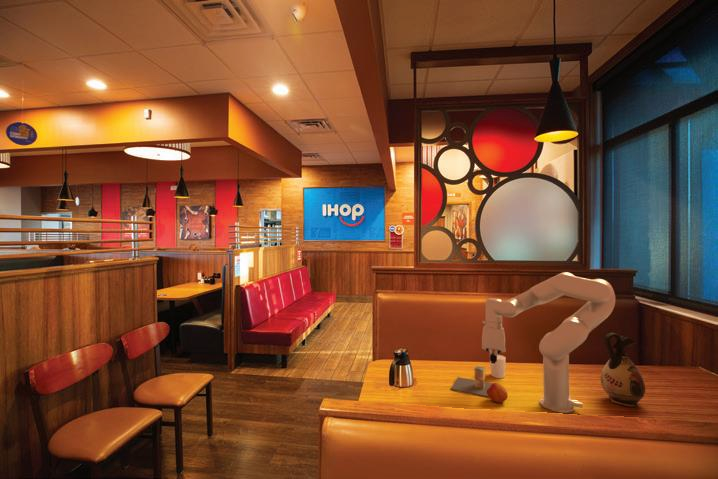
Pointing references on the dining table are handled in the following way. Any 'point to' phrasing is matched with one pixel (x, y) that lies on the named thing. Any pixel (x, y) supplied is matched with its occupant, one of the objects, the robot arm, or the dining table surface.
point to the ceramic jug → (621, 374)
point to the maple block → (479, 377)
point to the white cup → (498, 367)
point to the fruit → (497, 393)
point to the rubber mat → (470, 387)
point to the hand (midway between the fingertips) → (493, 362)
